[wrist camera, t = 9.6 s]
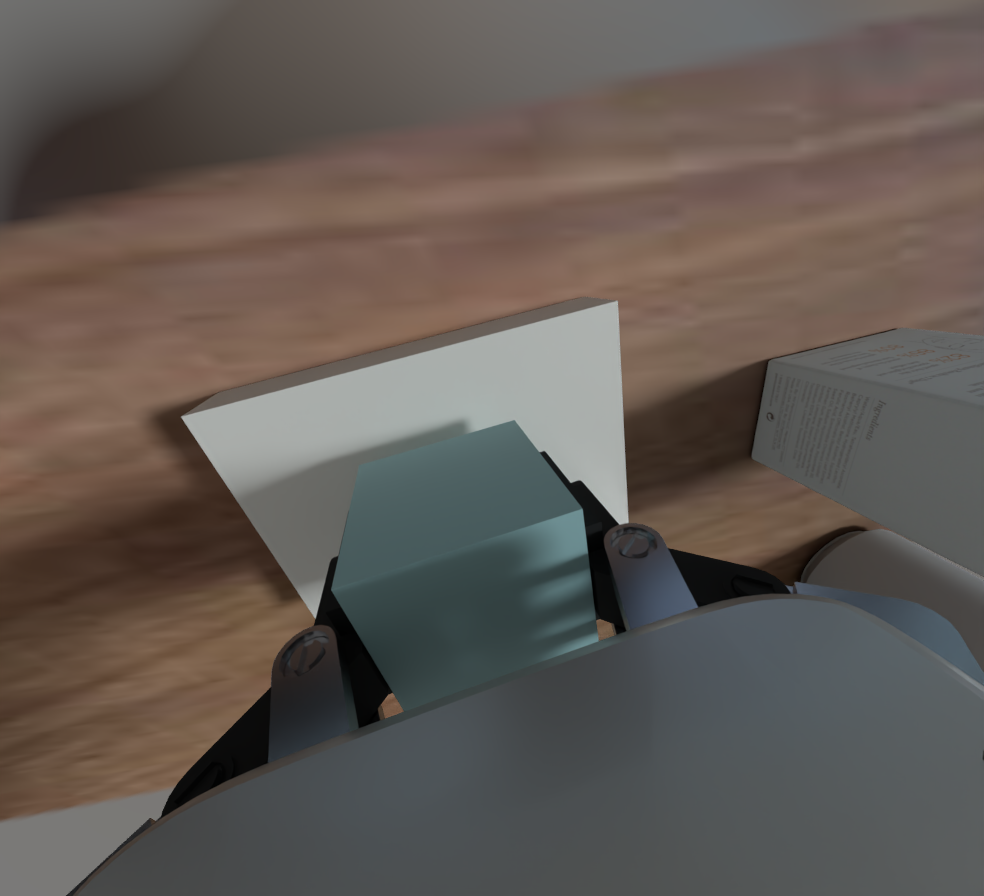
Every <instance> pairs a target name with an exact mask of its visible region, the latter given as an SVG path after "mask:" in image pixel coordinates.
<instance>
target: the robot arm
mask: <svg viewBox="0 0 984 896" xmlns="http://www.w3.org/2000/svg"><path fill="white" fill-rule="evenodd" d="M539 453H540V454H541V455H542V456H543V458H544V459H545V460H546V462H547V463H548V464H549V466H550V467H551V468H552V469H553V471H554V472H555V473H556V475H557V476H558V477H559V479H560V480H561V481H562V483H563V484H564V485H565V486H566V488H567V489H568V490H569V492H570V493H571V494H572V496H573V497H574V498H575V499H576V501H577V502H578V503H579V505H580V506H581V507H582V509H583V516H584V524H585V532H586V541H587V549H588V557H589V566H590V574H591V582H592V590H593V599H594V607H595V615H596V620H598V619H601V620H604V621H607V622H610V623H612V629H613V632H614V636H612V637H609V638H606V639H604V640H601V641H598V642H595V643H592V644H590V645H587V646H584V647H581V648H578V649H576V650H573V651H570V652H567V653H564V654H562V655H559V656H556V657H553V658H550V659H548V660H545V661H542V662H539V663H536V664H534V665H531V666H528V667H525V668H523V669H520V670H517V671H514V672H512V673H509V674H506V675H503V676H501V677H498V678H495V679H492V680H489V681H487V682H484V683H481V684H479V685H476V686H473V687H470V688H468V689H465V690H462V691H459V692H457V693H454V694H451V695H448V696H446V697H443V698H440V699H437V700H435V701H432V702H429V703H426V704H424V705H421V706H418V707H416V708H413V709H410V710H407V711H405V712H402V713H399V714H397V715H394V716H391V717H388V718H386V719H385V716H384V712H383V708H382V706H381V704H382V702H383V701H384V700H385V698H386V697H387V695H388V694H391V693H393V692H392V690H391V689H390V687H389V685H388V684H387V682H386V680H385V679H384V677H383V675H382V674H381V672H380V670H379V669H378V667H377V665H376V664H375V662H374V660H373V659H372V657H371V655H370V654H369V652H368V650H367V649H366V647H365V645H364V644H363V642H362V640H361V639H360V637H359V635H358V634H357V632H356V630H355V629H354V627H353V626H352V624H351V622H350V621H349V619H348V617H347V616H346V614H345V612H344V611H343V609H342V607H341V606H340V604H339V602H338V601H337V599H336V597H335V596H334V594H333V592H332V591H331V588H332V584H333V579H334V575H335V571H336V566H337V562H338V557H339V555H338V556H336V557H333V558H332V559H331V561H330V564H329V568H328V572H327V576H326V580H325V584H324V587H323V591H322V595H321V599H320V603H319V607H318V611H317V615H316V619H315V623H314V626H312V627H309V628H307V629H305V630H303V631H301V632H300V633H298V634H296V635H295V636H294V637H292V638H291V639H290V640H289V641H288V642H287V643H286V644H285V645H284V646H283V648H282V649H281V650H280V651H279V653H278V655H277V657H276V658H275V660H274V663H273V667H272V675H271V688H270V689H269V690H268V691H267V692H266V693H265V694H264V695H263V696H262V697H261V698H260V699H259V700H258V701H257V702H256V703H255V704H254V705H253V706H252V707H251V708H250V709H249V710H248V711H247V712H246V713H245V714H244V715H243V716H242V717H241V718H240V719H239V720H238V721H237V722H236V723H235V724H234V725H233V726H232V727H231V728H230V729H229V730H228V731H227V732H226V733H225V734H224V735H223V736H222V737H221V738H220V739H219V740H218V741H217V742H216V743H215V744H214V745H213V746H212V747H211V748H210V749H209V750H208V751H207V752H206V753H205V754H204V755H203V756H202V757H201V758H200V759H199V760H198V761H197V762H196V763H195V764H194V765H193V766H192V767H191V768H190V769H189V771H188V772H187V773H186V774H185V775H184V776H183V778H182V779H181V780H180V781H179V782H178V784H177V785H176V787H175V788H174V790H173V791H172V793H171V795H170V796H169V798H168V801H167V802H166V805H165V807H164V809H163V811H162V815H161V817H160V818H159V819H158V820H156V821H155V820H153V819H151V818H149V819H148V820H147V821H146V822H145V823H144V824H143V825H142V826H141V827H140V828H139V829H138V830H136V832H134V833H133V834H132V835H131V836H130V837H129V838H128V839H127V840H126V841H125V842H123V843H122V844H121V845H120V846H119V847H118V848H117V849H116V850H115V851H114V852H113V853H112V854H111V855H109V856H108V857H107V858H106V859H105V860H104V861H103V862H102V863H101V864H100V865H99V866H98V867H97V868H95V869H94V870H93V871H92V872H91V873H90V874H89V875H88V876H87V877H86V878H85V879H84V880H82V881H81V882H80V883H79V884H78V885H77V886H76V887H75V888H74V889H73V890H72V891H71V892H70V893H68V894H67V895H66V896H984V673H983V671H982V669H981V668H980V666H979V665H978V663H977V661H976V660H975V658H974V656H973V655H972V653H971V652H970V650H969V648H968V647H967V645H966V643H965V642H964V640H963V638H962V637H961V635H960V634H959V632H958V631H957V630H956V629H955V627H954V626H953V625H952V624H951V623H950V622H949V621H948V620H946V619H945V618H944V617H942V616H941V615H939V614H938V613H936V612H935V611H933V610H931V609H929V608H926V607H924V606H922V605H920V604H918V603H914V602H910V601H906V600H903V599H898V598H891V597H885V596H879V595H873V594H867V593H861V592H854V591H848V590H842V589H836V588H830V587H824V586H818V585H811V584H805V583H799V582H794V586H793V587H792V586H786V585H785V584H784V583H782V582H781V581H780V580H779V579H777V578H776V577H775V576H773V575H771V574H769V573H767V572H765V571H762V570H759V569H756V568H753V567H749V566H744V565H740V564H735V563H731V562H727V561H722V560H718V559H713V558H709V557H705V556H700V555H696V554H691V553H687V552H683V551H678V550H674V549H669V548H667V546H666V544H665V542H664V540H663V538H662V537H661V536H660V534H659V533H658V532H657V531H655V530H654V529H652V528H651V527H648V526H645V525H643V524H637V523H625V524H621V525H619V523H618V522H617V521H616V520H615V519H614V518H613V517H612V515H611V514H610V513H609V512H608V511H607V510H606V508H605V507H604V506H603V505H602V504H601V503H600V501H599V500H598V499H597V498H596V497H595V496H594V494H593V493H592V492H591V491H590V490H589V489H588V488H587V486H586V485H585V484H584V483H583V482H582V481H580V480H578V481H575V482H572V483H570V481H569V480H568V479H567V478H566V476H565V475H564V474H563V473H562V471H561V470H560V469H559V468H558V466H557V465H556V464H555V463H554V461H553V460H552V459H551V458H550V456H549V455H548V454H547V453H546V452H545V451H542V452H539ZM348 513H349V511H348ZM347 517H348V515H347ZM346 522H347V519H346ZM345 526H346V524H345ZM344 531H345V528H344ZM343 535H344V533H343ZM342 539H343V537H342ZM341 544H342V541H341ZM340 548H341V546H340ZM339 553H340V550H339Z"/></svg>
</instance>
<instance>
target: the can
mask: <svg viewBox="0 0 984 896" xmlns="http://www.w3.org/2000/svg"><path fill="white" fill-rule="evenodd" d="M800 583H805V584H811V585H818V586H824V587H830V588H836V589H842V590H848V591H854V592H861V593H867V594H873V595H879V596H885V597H891V598H898V599H903V600H906V601H910V602H914V603H918V604H920V605H922V606H924V607H926V608H929V609H931V610H933V611H935V612H936V613H938V614H939V615H941V616H942V617H944V618H945V619H946V620H948V621H949V622H950V623H951V624H952V625H953V626H954V627H955V629H956V630H957V631H958V632H959V634H960V635H961V637H962V638H963V640H964V642H965V643H966V645H967V647H968V648H969V650H970V652H971V653H972V655H973V656H974V658H975V660H976V661H977V663H978V665H979V666H980V668H981V669H982V671H983V673H984V580H982V579H980V578H979V577H977V576H975V575H973V574H971V573H969V572H967V571H965V570H963V569H962V568H960V567H958V566H956V565H954V564H952V563H950V562H948V561H946V560H945V559H943V558H941V557H939V556H937V555H935V554H933V553H931V552H929V551H927V550H926V549H923V548H922V547H920V546H918V545H916V544H914V543H912V542H910V541H909V540H907V539H905V538H903V537H901V536H899V535H897V534H895V533H893V532H892V531H888V530H883V529H877V530H870V531H854V532H849V533H846V534H844V535H842V536H839V537H837V538H835V539H834V540H832V541H831V542H829V543H828V544H826V545H825V546H824V547H823V548H822V549H820V550H819V551H818V552H817V553H816V554H815V555H814V556H813V557H812V559H811V560H810V561H809V563H808V564H807V565H806V567H805V569H804V571H803V573H802V575H801V582H800Z"/></svg>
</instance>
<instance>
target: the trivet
mask: <svg viewBox="0 0 984 896" xmlns="http://www.w3.org/2000/svg"><path fill="white" fill-rule="evenodd" d="M181 418H182V419H183V421H184V422H185V424H186V425H187V427H188V428H189V430H190V431H191V433H192V434H193V436H194V437H195V439H196V440H197V442H198V443H199V445H200V446H201V448H202V449H203V451H204V452H205V454H206V455H207V457H208V458H209V460H210V461H211V463H212V464H213V466H214V467H215V469H216V470H217V472H218V473H219V475H220V476H221V478H222V479H223V481H224V482H225V484H226V485H227V487H228V488H229V490H230V491H231V493H232V494H233V496H234V497H235V499H236V500H237V502H238V503H239V505H240V506H241V508H242V509H243V511H244V512H245V514H246V515H247V517H248V518H249V520H250V521H251V523H252V524H253V526H254V527H255V529H256V530H257V532H258V533H259V535H260V536H261V538H262V539H263V541H264V542H265V544H266V545H267V547H268V548H269V550H270V551H271V553H272V554H273V556H274V557H275V559H276V560H277V562H278V563H279V565H280V566H281V568H282V569H283V571H284V572H285V574H286V575H287V577H288V578H289V580H290V581H291V583H292V584H293V586H294V587H295V589H296V590H297V592H298V593H299V595H300V596H301V598H302V599H303V601H304V602H305V604H306V605H307V607H308V608H309V610H310V611H311V613H312V614H313V616H314V617H315V619H316V615H317V611H318V607H319V603H320V599H321V595H322V591H323V587H324V584H325V580H326V576H327V572H328V568H329V564H330V561H331V559H332V558H333V557H336V556H338V555H339V550H340V546H341V541H342V537H343V533H344V528H345V524H346V519H347V515H348V511H349V508H350V504H351V499H352V495H353V491H354V486H355V482H356V477H357V473H358V468H359V465H362V464H365V463H369V462H372V461H375V460H379V459H382V458H386V457H389V456H393V455H396V454H399V453H403V452H406V451H410V450H413V449H417V448H420V447H423V446H427V445H430V444H434V443H437V442H441V441H444V440H447V439H451V438H454V437H458V436H461V435H465V434H468V433H471V432H475V431H478V430H482V429H485V428H489V427H492V426H495V425H499V424H502V423H506V422H509V421H513V420H515V421H516V423H517V424H518V425H519V426H520V428H521V429H522V430H523V432H524V433H525V434H526V436H527V437H528V438H529V439H530V441H531V442H532V443H533V445H534V446H535V447H536V449H537V450H538V451H539V452H542V451H545V452H546V453H547V454H548V455H549V456H550V458H551V459H552V460H553V461H554V463H555V464H556V465H557V466H558V468H559V469H560V470H561V471H562V473H563V474H564V475H565V476H566V478H567V479H568V480H569V481H570V483H572V482H575V481H578V480H580V481H582V482H583V483H584V484H585V485H586V486H587V488H588V489H589V490H590V491H591V492H592V493H593V494H594V496H595V497H596V498H597V499H598V500H599V501H600V503H601V504H602V505H603V506H604V507H605V508H606V510H607V511H608V512H609V513H610V514H611V515H612V517H613V518H614V519H615V520H616V521H617V522H618V523H619V525H621V524H625V523H629V522H628V502H627V481H626V461H625V440H624V420H623V399H622V379H621V358H620V338H619V317H618V301H616V300H608V299H600V298H592V297H581V298H577V299H574V300H570V301H566V302H562V303H558V304H555V305H551V306H547V307H543V308H539V309H535V310H532V311H528V312H524V313H520V314H516V315H513V316H509V317H505V318H501V319H497V320H493V321H490V322H486V323H482V324H478V325H474V326H471V327H467V328H463V329H459V330H455V331H451V332H448V333H444V334H440V335H436V336H432V337H429V338H425V339H421V340H417V341H413V342H409V343H406V344H402V345H398V346H394V347H390V348H387V349H383V350H379V351H375V352H371V353H367V354H364V355H360V356H356V357H352V358H348V359H345V360H341V361H337V362H333V363H329V364H325V365H322V366H318V367H314V368H310V369H306V370H303V371H299V372H295V373H291V374H287V375H284V376H280V377H276V378H272V379H268V380H264V381H261V382H257V383H253V384H249V385H245V386H242V387H238V388H234V389H230V390H226V391H222V392H219V393H217V394H215V395H214V396H212V397H211V398H209V399H208V400H206V401H205V402H203V403H201V404H200V405H198V406H197V407H195V408H194V409H192V410H191V411H189V412H187V413H186V414H184V415H183V416H181Z"/></svg>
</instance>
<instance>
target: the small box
mask: <svg viewBox="0 0 984 896" xmlns="http://www.w3.org/2000/svg"><path fill="white" fill-rule="evenodd" d="M752 459H754V460H755V461H757V462H759V463H761V464H763V465H765V466H767V467H769V468H771V469H773V470H775V471H777V472H779V473H781V474H782V475H784V476H786V477H788V478H790V479H792V480H794V481H796V482H798V483H800V484H802V485H804V486H806V487H808V488H810V489H812V490H814V491H815V492H817V493H820V494H822V495H824V496H826V497H828V498H830V499H832V500H834V501H836V502H838V503H840V504H841V505H843V506H845V507H847V508H849V509H851V510H853V511H855V512H857V513H859V514H861V515H863V516H865V517H867V518H869V519H871V520H873V521H875V522H877V523H878V524H880V525H882V526H884V527H886V528H889V529H890V530H892V531H894V532H896V533H898V534H900V535H902V536H904V537H906V538H908V539H910V540H912V541H914V542H916V543H918V544H920V545H921V546H924V547H925V548H927V549H929V550H931V551H933V552H935V553H937V554H939V555H941V556H943V557H945V558H947V559H949V560H951V561H953V562H955V563H957V564H959V565H961V566H963V567H965V568H967V569H969V570H971V571H973V572H975V573H977V574H979V575H981V576H983V577H984V336H980V335H969V334H961V333H951V332H940V331H930V330H920V329H910V328H899V329H896V330H892V331H888V332H884V333H880V334H876V335H872V336H867V337H863V338H859V339H855V340H851V341H847V342H843V343H838V344H834V345H830V346H826V347H822V348H818V349H814V350H810V351H806V352H801V353H797V354H793V355H789V356H785V357H781V358H776V359H772V360H770V361H769V362H768V367H767V373H766V378H765V384H764V389H763V395H762V400H761V406H760V412H759V417H758V422H757V428H756V433H755V439H754V445H753V450H752Z"/></svg>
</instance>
